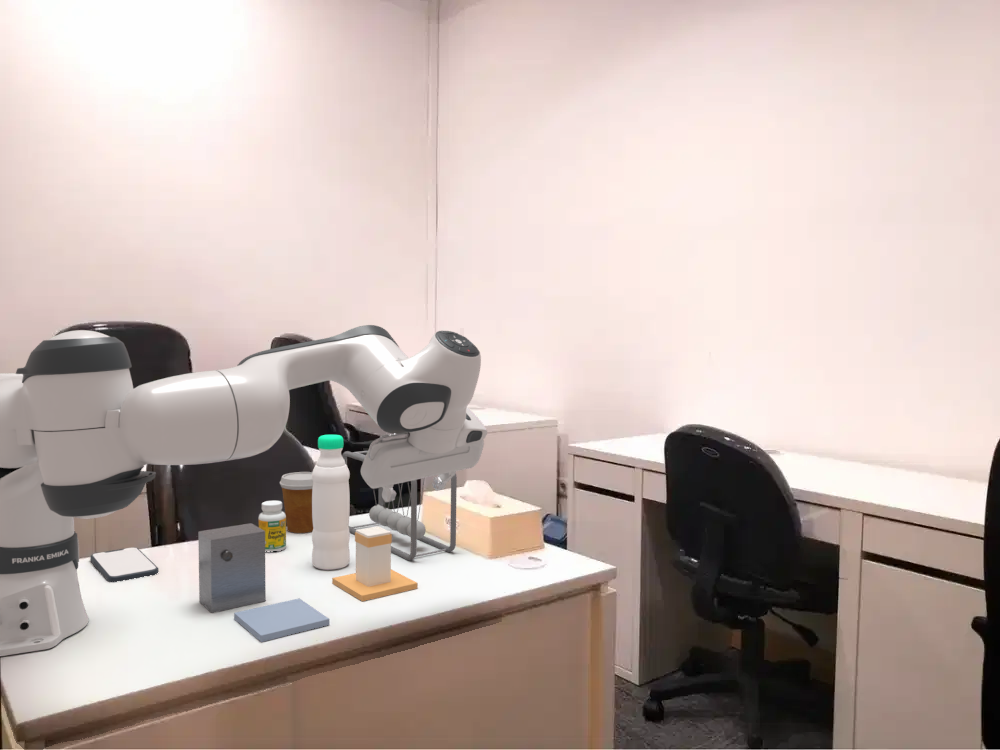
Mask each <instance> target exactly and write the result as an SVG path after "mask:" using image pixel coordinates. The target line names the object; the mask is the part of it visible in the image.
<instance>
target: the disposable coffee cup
mask: <svg viewBox="0 0 1000 750" xmlns="http://www.w3.org/2000/svg"><path fill="white" fill-rule="evenodd" d="M312 472H313V471H311V472H310V471H299V472H289V473H285V474H283V475H282V476H281V478H280V481H279V485H280V487H281V491H282V499H283V507H284V513H285V515H286V531H288V532H289V531H290V532H289V533H292V532H293V533H294V534H307V533H312V532H313V520H312V488H313V480H312ZM293 533H292V534H293Z"/></svg>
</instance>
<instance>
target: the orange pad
mask: <svg viewBox="0 0 1000 750" xmlns="http://www.w3.org/2000/svg"><path fill="white" fill-rule="evenodd" d="M331 579H332V580H331V583H332V584H333V585H334V586H336V587H337V588H339V589H341V590H342V591H344V592H345V593H347V594H349V595H350V596H352V597H354V598H355V597H356V598H355V599H357V600H359V601H360V600H361V601H360V602H366V600H367V601H370V599H371V600H374V599H375V600H376V599H379V598H384V597H387V596H392V595H396V594H401V593H403V592H404V593H405V592H408V591H412V590H416V589H418V588H419V587H418V586H419V585H418V582H417V581H414V580H413V579H411V578H409V577H407V576H405V575H403V574H401V573H399V572H398V571H395V570H393V569H392V568H391V582H387V583H383V584H379V585H374V586H370V587H368V586H366V585H364V584H362V583H361V582H359V581H357V580H356V572H353V573H349V574H345V575H340V576H335V577H332V578H331Z"/></svg>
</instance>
